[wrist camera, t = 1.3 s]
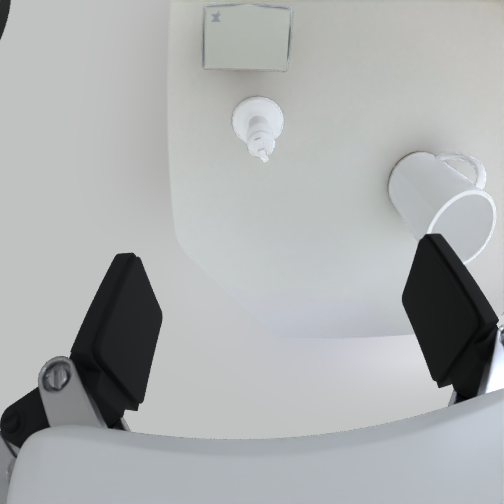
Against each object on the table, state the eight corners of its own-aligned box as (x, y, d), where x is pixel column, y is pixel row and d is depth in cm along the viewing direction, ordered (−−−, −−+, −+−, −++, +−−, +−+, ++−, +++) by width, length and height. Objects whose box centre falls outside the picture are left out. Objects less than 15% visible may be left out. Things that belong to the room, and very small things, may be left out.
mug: (429, 220, 33) (469, 273, 25) (373, 208, 32) (408, 265, 24) (461, 144, 27) (516, 183, 19) (403, 120, 26) (459, 155, 18)
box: (216, 64, 23) (195, 70, 14) (217, 22, 20) (198, 3, 12) (273, 66, 23) (289, 73, 15) (276, 24, 21) (294, 5, 12)
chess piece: (242, 151, 29) (240, 196, 21) (224, 106, 26) (212, 133, 18) (290, 135, 28) (308, 175, 20) (273, 89, 25) (286, 107, 17)
